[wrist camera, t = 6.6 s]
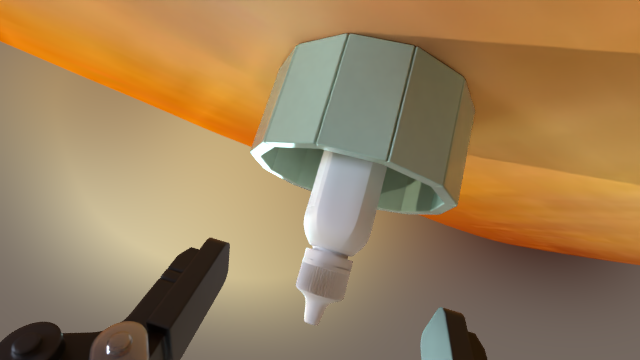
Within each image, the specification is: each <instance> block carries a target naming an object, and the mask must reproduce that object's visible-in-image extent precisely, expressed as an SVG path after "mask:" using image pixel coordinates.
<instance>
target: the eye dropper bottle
mask: <svg viewBox="0 0 640 360" xmlns="http://www.w3.org/2000/svg"><path fill="white" fill-rule="evenodd" d="M386 170H387V166H385V165H382V164H379V163H375V162H371V161H367V160H363V159H359V158H355V157H351V156H347V155H342V154H338V153H334V152H330V151H326V150H324V152H323V155H322V158H321V162H320V165H319V168H318V172H317V175H316V178H315V182H314V185H313V189H312V192H311V196H310V199H309V203H308V206H307V210H306V213H305V217H304V229H305V233H306V236H307V239H308V241H309V244H310V245H312V246H313V248H312V249H310V248H306V251H305V254H304V258H303V261H302V265H301V268H300V272H299V275H298V278H297V282H296V287H297V288H298V289H299V290H300V291H301V292H302V293H303V294H304V296H305V299H306V306H305V316H304V321H305V322H307V323H309V324H312V325H318V324H319V322H320V319H321V317H322V315H323V313H324V311H325V309H326V307H327V306H328V305H329V304H331V303H333V302H338V301H342V300H343V299H344V295H345V291H346V287H347V283H348V279H349V275H350V271H349V270H351V267H352V263H353V261H350V260H347V258H348V256H354V255H355V254H356V253H357V252H358V251H360V250H361V249H362V248H363V247H364V246H365V244H366V243H367V241H368V239H369V237H370V234H371V230H372V226H373V222H374V218H375V214H376V210H377V206H378V202H379V198H380V194H381V190H382V186H383V182H384V178H385V174H386Z"/></svg>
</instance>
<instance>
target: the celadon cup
mask: <svg viewBox="0 0 640 360" xmlns="http://www.w3.org/2000/svg"><path fill="white" fill-rule="evenodd" d="M474 114H475V109H474V105H473V102H472V99H471V96H470V93H469V90H468V86H467V83H466V80H465V79H464V77H463V76H461V75H460V74H458V73H457V72H455V71H454V70H452V69H451V68H449V67H448V66H446V65H445V64H443V63H442V62H440V61H439V60H437V59H436V58H434V57H433V56H431V55H430V54H428V53H427V52H425V51H424V50H422V49H421V48H419V47H416V48H415V47H414V45H409V44H404V43H399V42H393V41H388V40H383V39H378V38H373V37H367V36H362V35H357V34H352V33H350V34H349V35H348V34H347V33H346V34H341V35H337V36H332V37H328V38H323V39H319V40H314V41H310V42H305V43H301V44H299V45H297V46H296V47H295V48H294V50H293V51H292V52H291V54H290V55H289V56H288V58H287V59H286V61H285V62H284V63H283V65H282V66H281V67H280V69H279V72H278V74H277V77H276V80H275V83H274V86H273V89H272V91H271V94H270V97H269V100H268V103H267V106H266V108H265V111H264V114H263V117H262V120H261V122H260V125H259V128H258V131H257V134H256V137H255V139H254V142H253V145H252V148H251V154H252V155H253V157H254V158H255V159H256V160H257V161H258V162H259V164H260V165H261V166H262V167H263V168H264V169H266V170H267V171H269V172H271V173H273V174H275V175H277V176H278V177H280V178H282V179H284V180H286V181H288V182H289V183H291V184H293V185H296V186H299V187H301V188H304V189H307V190H310V191H312V189H313V185H314V182H315V178H316V175H317V172H318V168H319V165H320V162H321V158H322V155H323V152H324V150H326V151H330V152H334V153H338V154H342V155H347V156H351V157H355V158H359V159H363V160H367V161H371V162H375V163H379V164H382V165H385V166H387V170H386V174H385V178H384V182H383V186H382V190H381V194H380V198H379V202H378V206H377V210H384V211H390V212H396V213H401V214H442V213H444V212H446V211H448V210H450V209H452V208H454V207H456V206H457V204H458V200H459V195H460V189H461V184H462V179H463V173H464V168H465V162H466V157H467V152H468V146H469V141H470V136H471V130H472V125H473V120H474Z"/></svg>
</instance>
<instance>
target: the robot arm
mask: <svg viewBox="0 0 640 360" xmlns="http://www.w3.org/2000/svg"><path fill="white" fill-rule="evenodd" d="M229 249H230V244H229V243H227V242H224V241H220V240H217V239H213V238H209V239H207V240H206V242H205V243H204V244H203V246H202V247H201V248H200V250H199V249H195V248H192V247H191V248H189V249H188V250H186V251H184V252H183V253H181V254H179V255H178V256H177V257H176V259H175V260H174V261H173V262H172V263H171V265H170V266H169V268H168V269H167V270H166V271H165V272H164V273H163V274H162V276H161V278H160V279H158V281H157V282H156V283H155V284H154V285H153V287H152V288H151V289H150V290H149V292H148V293H147V294H146V295H145V297H144V298H143V299H142V300H141V301H140V303H139V304H138V305H137V306H136V308H135V309H134V310H133V311H132V313H131V314H130V315H129V316H128V317H127V318H126V319H125V320H124V321H122V322H120V323H117V324H114V325H112V326H110V327H108V328H107V329H105V330H104V331H100V332H93V333H61V331H60V328H59V327H58V326H57V325H55V324H53V323H50V322H37V323H32V324H29V325H26V326H23V327H21V328H19V329H17V330H15V331H14V332H12V333H11V334H9V335H8V336H7V337H6V338H4V339H3V340H2V341H1V342H0V360H180V359H181V357H182V356H183V354H184V352H185V350H186V349H187V347H188V345H189V343H190V342H191V340H192V338H193V337H194V335H195V333H196V331H197V330H198V328H199V326H200V324H201V323H202V321H203V319H204V317H205V316H206V314H207V312H208V310H209V309H210V307H211V305H212V304H213V302H214V300H215V298H216V296H217V295H218V293H219V291H220V290H221V287H222V286H223V284H224V282H225V279H226V277H227V273H228V264H229ZM421 358H422V360H487V357H486V353H485V349H484V348H483V346H482V344H481V343H480V341H479V339H478V338H477V336H476V334H474V333H471V332H468V330H467V326H466V322H465V318H464V316H463V314H461V313H458V312H455V311H452V310H449V309H445V308H442V307H440V308H439V309H438V310H437V311H436V313H435V314H434V316H433V317H432V319H431V320H430V322H429V323H428V325H427V326H426V328H425V329H424V331H423V334H422V338H421Z"/></svg>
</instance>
